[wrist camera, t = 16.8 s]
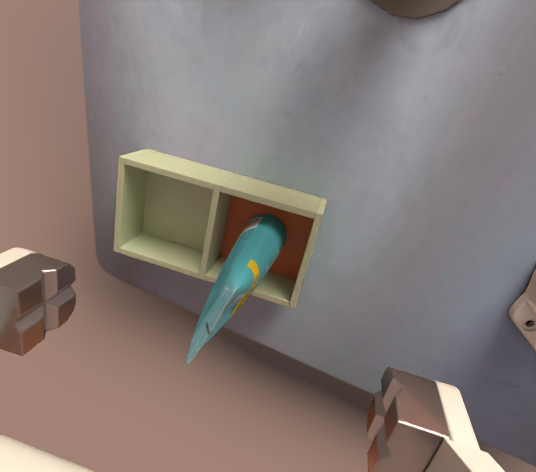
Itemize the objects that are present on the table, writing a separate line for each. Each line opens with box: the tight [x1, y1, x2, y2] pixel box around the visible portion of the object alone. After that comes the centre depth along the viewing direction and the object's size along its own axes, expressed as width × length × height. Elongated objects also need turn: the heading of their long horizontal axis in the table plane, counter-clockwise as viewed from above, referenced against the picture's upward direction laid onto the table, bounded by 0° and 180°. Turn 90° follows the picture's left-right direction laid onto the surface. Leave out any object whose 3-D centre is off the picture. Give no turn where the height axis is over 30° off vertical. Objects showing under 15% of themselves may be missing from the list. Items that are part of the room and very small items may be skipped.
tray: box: [113, 149, 327, 309], centre depth 41 cm, size 22×11×6 cm, turn 77°
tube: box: [186, 214, 287, 365], centre depth 34 cm, size 7×5×19 cm, turn 154°
